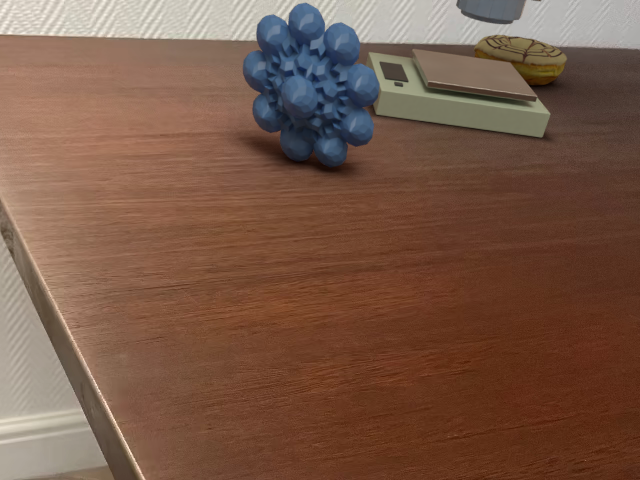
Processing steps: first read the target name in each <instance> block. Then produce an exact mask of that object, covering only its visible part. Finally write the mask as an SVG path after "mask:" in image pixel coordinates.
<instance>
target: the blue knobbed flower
mask: <svg viewBox="0 0 640 480" xmlns="http://www.w3.org/2000/svg"><path fill="white" fill-rule="evenodd" d="M255 36H256V42H257V45H258V47H259V49H258V50H251V51H250V52H249V53H248V54H247V55H246V56H245V57H244V59H243V61H242V74H243V77H244V80H245V82H246V83H247V85H248V86H249V87H250V88H251V89H252V90H253V91H256V92H258V93H259V94H257V96H256V97H255V98H254V100H253V101H252V108H251V109H252V110H251V111H252V117H253V120H254V122H255V123H256V125H257V126H258V127H259V128H260V129H262V130H263V131H264V132H267V133H269V134H273V133H277V132H279V133H280V134H279V144H280V148H281V150H282V152H283V153H284V155H285V156H286V157H287V158H289V160H292V161H294V162H296V163H299V162H303V161H307V160H309V158H310V157H311V156H312V155H313V154H314V156H315V157H316V159H317V160H318V161H319V162H320V163H321V164H322V165H324V166H326V167H328V168H335V167H339V166H342V165H343V164H344V162H346V160H347V156H348V149H349V145H351V146H352V147H354V148H357V147H362V146H366V145H368V144H369V143H370V141H371V140H372V139H373V137H374V128H375V123H374V120H373V118H372V116H371V114H370V112H369V111H368V110H367V109H365V108H366V107H370V106H372V105H373V103H374V102H375V101H376V100H377V99H378V93H379V86H380V83H379V81H378V78H377V76H376V74H375V73H374V71H373V70H372V69H371V68H369V67H367V66H366V64H363V63H361V62H360V63H356V62H357V61H358V60H359V59H360V52H361V50H360V49H361V41H360V38H359V36H358V34H357V32H356V30H355V29H354V28H353V27H351V26H349V25H348V24H346V23H344V22H342V21H341V22H335V23H331V24H330V25H328V27H327V29H326V22H325V19H324V16H323V15H322V14H321V11H320V9H319V8H317V7H315V6H313V5H312V4H310V3H308V2H302V3H298V4H296V5H295V6H294V7H293V8H292V9H291V10H290V12H289V13H288V21H287V22H286V20H285V19H284V18H281V17H280V16H278V15H276V14H268V15H265V16H263V17H262V18H261V19H260V21H259V22H258V23H257V24H256V32H255Z"/></svg>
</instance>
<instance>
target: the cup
mask: <svg viewBox="0 0 640 480" xmlns="http://www.w3.org/2000/svg"><path fill="white" fill-rule="evenodd" d="M526 4H527V0H456V3H455V6H456V8H457V9H458V10H460V14H461V15H462V16H465V17H467V18H469V19H471V20H474V21H475V20H476V21H479V22H484V23H488V24H493V25H494V24H495V25H512V24H513V23H514V21H519V20H521V18H522V17H523V12H524V9H525V6H526Z"/></svg>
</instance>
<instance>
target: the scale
mask: <svg viewBox="0 0 640 480" xmlns="http://www.w3.org/2000/svg"><path fill="white" fill-rule="evenodd" d="M365 66H367V67H369V68H371V69H372V70H373V71H374V73H375V74H376V76H377V78H378V81H379V83H380V86H379V93H378V99H377V100H376V101H375V102H374V103H373V109H374V113H375V115H376V116H382V117H388V118H389V117H390V118H397V119H404V120H410V121H419V122H426V123H432V124H433V123H434V124H439V125H440V124H442V125H447V126H448V125H449V126H455V127H463V128H470V129H477V130H484V131H491V132H498V133H506V134H512V135H521V136H528V137H535V138H544V134H545V132H546V128H547V126H548V123H549V120H550V117H551V112H550V111H549V110H548V108H547V107H546V106H545V105H544V104H543V103H542V102H541V100H540V99H539V97H537V100H536V102H530V101H523V100H516V99H508V98H501V97H494V96H487V95H480V94H473V93H466V92H459V91H451V90H444V89H437V88H430V87H427V86H426V84H425V82H424V80H423V78H422V76H421V74H420V71H419V69H418V67H417V65H416V63H415V61H414V59H413V57H407V56H400V55H394V54H388V53H387V54H386V53H379V52H373V51H368V54H367V59H366V63H365Z"/></svg>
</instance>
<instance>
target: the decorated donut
mask: <svg viewBox="0 0 640 480" xmlns="http://www.w3.org/2000/svg"><path fill="white" fill-rule="evenodd" d="M473 52H474V57H475V58H482V59H489V60H496V61H503V62H510V63H511V64H512V66H513V67H514V68H515V69H516V70H517V72H518V73H519V74H520V75H521V77H522V78H523V79H524V80H525V82H526V83H527V84H528V85H529V86H545V85H548V84H550V83H552V82H554V81H555V80H556V79H557V78H559V76H560V75H561V74H562V73H563V71H564V69H565V66H566V63H567V60H568V57H567V55H566V54H565V53H564V52H563V51H562V50H560V49H559V48H558V47H556V46H553V45H552V44H549V43H547V42H546V43H545V42H543V41H541V40H537V39H534V38H529V37H522V36H513V35H512V36H510V35H505V34H492V35H486V36H484V37H482V38H481V39H480V40H479V41H478V42H477V43H476V44H475V46H474V47H473Z"/></svg>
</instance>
